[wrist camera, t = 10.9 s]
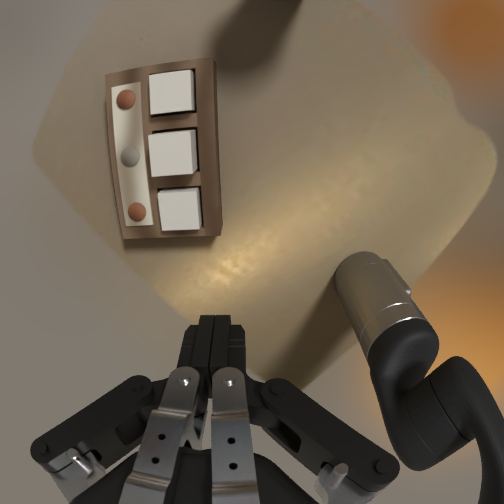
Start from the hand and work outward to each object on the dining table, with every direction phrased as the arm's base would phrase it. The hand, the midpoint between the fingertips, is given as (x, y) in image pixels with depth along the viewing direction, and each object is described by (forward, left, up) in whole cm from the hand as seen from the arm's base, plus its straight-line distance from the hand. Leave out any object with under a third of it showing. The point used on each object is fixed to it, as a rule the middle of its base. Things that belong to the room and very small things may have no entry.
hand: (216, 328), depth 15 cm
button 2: (+7, -6, -26) cm, 27 cm away
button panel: (+9, -6, -29) cm, 31 cm away
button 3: (+7, -13, -27) cm, 31 cm away
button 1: (+7, +2, -27) cm, 28 cm away
